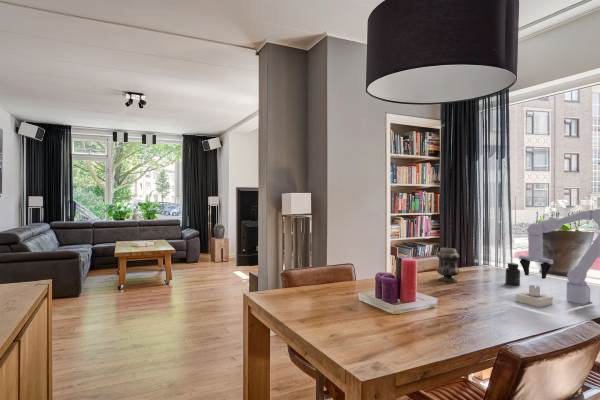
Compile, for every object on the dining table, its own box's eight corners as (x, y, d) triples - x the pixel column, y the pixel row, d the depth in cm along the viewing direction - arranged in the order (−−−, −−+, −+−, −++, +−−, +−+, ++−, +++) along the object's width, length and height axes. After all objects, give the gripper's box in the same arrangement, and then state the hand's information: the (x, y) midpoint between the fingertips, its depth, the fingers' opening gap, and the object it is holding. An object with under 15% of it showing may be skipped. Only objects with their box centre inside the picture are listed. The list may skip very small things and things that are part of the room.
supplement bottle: (519, 288, 188) (519, 265, 187) (504, 286, 192) (504, 263, 192) (520, 285, 193) (521, 263, 193) (506, 283, 197) (506, 262, 197)
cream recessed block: (524, 294, 176) (524, 285, 176) (565, 303, 161) (565, 294, 161) (499, 299, 167) (499, 290, 167) (541, 310, 151) (541, 300, 151)
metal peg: (531, 300, 162) (531, 284, 162) (541, 302, 159) (541, 286, 159) (527, 301, 160) (527, 286, 160) (537, 304, 156) (537, 287, 156)
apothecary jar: (460, 279, 206) (461, 248, 206) (457, 284, 196) (457, 250, 196) (438, 277, 213) (438, 246, 212) (434, 281, 202) (434, 249, 202)
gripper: (515, 246, 176) (514, 274, 176) (547, 250, 164) (547, 280, 164) (523, 246, 180) (523, 273, 180) (555, 249, 167) (555, 279, 167)
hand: (535, 276), depth 172 cm, fingers open, 7 cm apart
